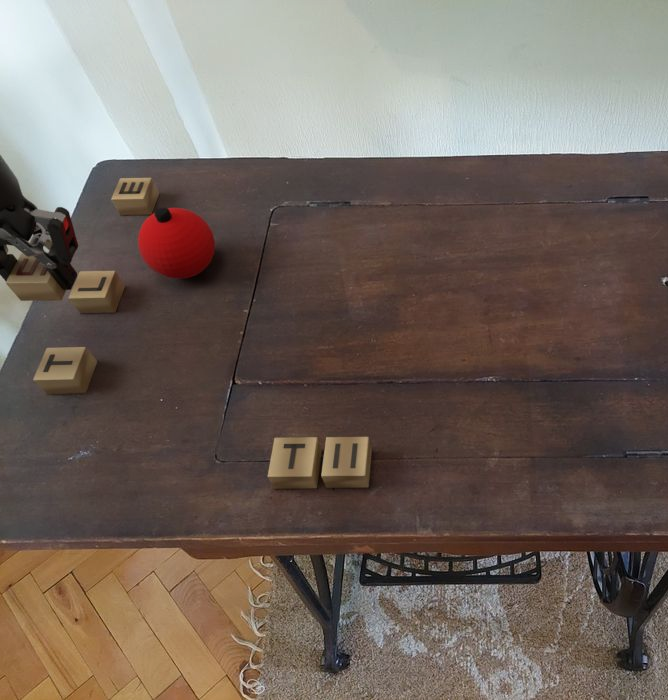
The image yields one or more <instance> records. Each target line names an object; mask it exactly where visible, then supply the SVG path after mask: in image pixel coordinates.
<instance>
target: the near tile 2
mask: <svg viewBox="0 0 668 700" xmlns="http://www.w3.org/2000/svg"><path fill="white" fill-rule="evenodd" d="M322 455H323V449H322V447H321V444H320V441H319V438H318V437H317V436H305V437H301V436H299V437H298V436H297V437H296V436H295V437H294V436H293V437H274V439H273V445H272V450H271V455H270V461H269V468H268V471H267V478H268V480H269V482H270V484H271V485H272V487H273V489H274V490H276V489H277V490H279V489H281V490H282V489H286V490H287V489H289V490H290V489H291V490H292V489H295V490H296V489H318V486H319V485H318V484H319V476H320V470H321V462H322Z"/></svg>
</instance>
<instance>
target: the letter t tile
mask: <svg viewBox="0 0 668 700" xmlns="http://www.w3.org/2000/svg"><path fill="white" fill-rule="evenodd" d="M97 364H98V360H97V359H96V358H95V356H94V355H93V354H92V353H91V352H90V350H89V349H88V348H87V347H86V346H72V347H71V346H69V347H66V346H65V347H46V348H45V350H44V354H43V356H42V358H41V360H40V363H39V365H38V367H37V369H36V372H35V374H34V377H33V379H32V381H33V382H34V383H35V384H36V385H37V386H38V387H39V388H40V389H41V390H42V391H43V392H44V393H45V394H46V395H64V394H65V395H66V394H68V395H69V394H86V393H87V391H88V388H89V386H90V383H91V381H92V378H93V374H94V372H95V369H96V367H97Z"/></svg>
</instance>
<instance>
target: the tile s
mask: <svg viewBox="0 0 668 700" xmlns="http://www.w3.org/2000/svg"><path fill="white" fill-rule="evenodd" d="M45 252H46V253H48V252H49V251H45ZM17 260H18V261H17V262H16V264H15V266H14V268H13V270H12V272H11V274H10V275H9V277H8V279H7V281H5V284H6V286H8V288H9V289H10V290H11V292H12V293H13V294H14V295H15V296H16V297H17V298H18V299H19V301H21V302H44V301H46V302H47V301H48V302H49V301H51V302H52V301H53V302H54V301H57V302H59V301H63V298H64V297H65V294H66V292H67V290H63V289H62V288H61V287H60V286H59V284H58V283H57V282H56V280H55V279H54V278H53V277H52V275H50V273H49V272H48V271H47V270H46V268H47V267H46V266H45V265H43V264H42V263H41V262H40V261H38V260H37V259H36V258H35V257H33V256H31V257H28V256H26V255H25V254H23V253H22V252H21V253H20V254H19V257H18V258H17ZM72 267H73V268H74V266H73V265H72ZM74 270H75V271H76V269H75V268H74Z"/></svg>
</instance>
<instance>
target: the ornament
mask: <svg viewBox="0 0 668 700" xmlns="http://www.w3.org/2000/svg"><path fill="white" fill-rule="evenodd" d="M137 243H138V250H139V252H140V255H141V257H142V259H143V261H144V262H145V263H146V265H147V266H148V267H149V268H150V269H152V270H153V271H154V272H155V273H157V274H159V275H161V276H164V277H166V278H170V279H175V280H176V279H178V280H179V279H180V280H181V279H182V280H183V279H188V278H192V277H195V276H197V275H199V274H200V273H202V272H203V271H204V270H205V269H206V268H207V267H208V266H209V265H210V264H211V262H212V260H213V258H214V254H215V251H216V249H215V248H216V241H215V238H214V233H213V231H212V229H211V227H210V226H209V224H208V222H207V221H205V220H204V219H203V218H202V217H201V216H200V215H198V214H197V213H195V212H194V211H191V210H190V209H186V208H182V207H158V208H157V209H156V210H155V211H154V212H153V213H152V214H151V215H148V217H147V218H145V220H144V221H143V223H142V225H141V227H140V229H139V233H138V237H137Z"/></svg>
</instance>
